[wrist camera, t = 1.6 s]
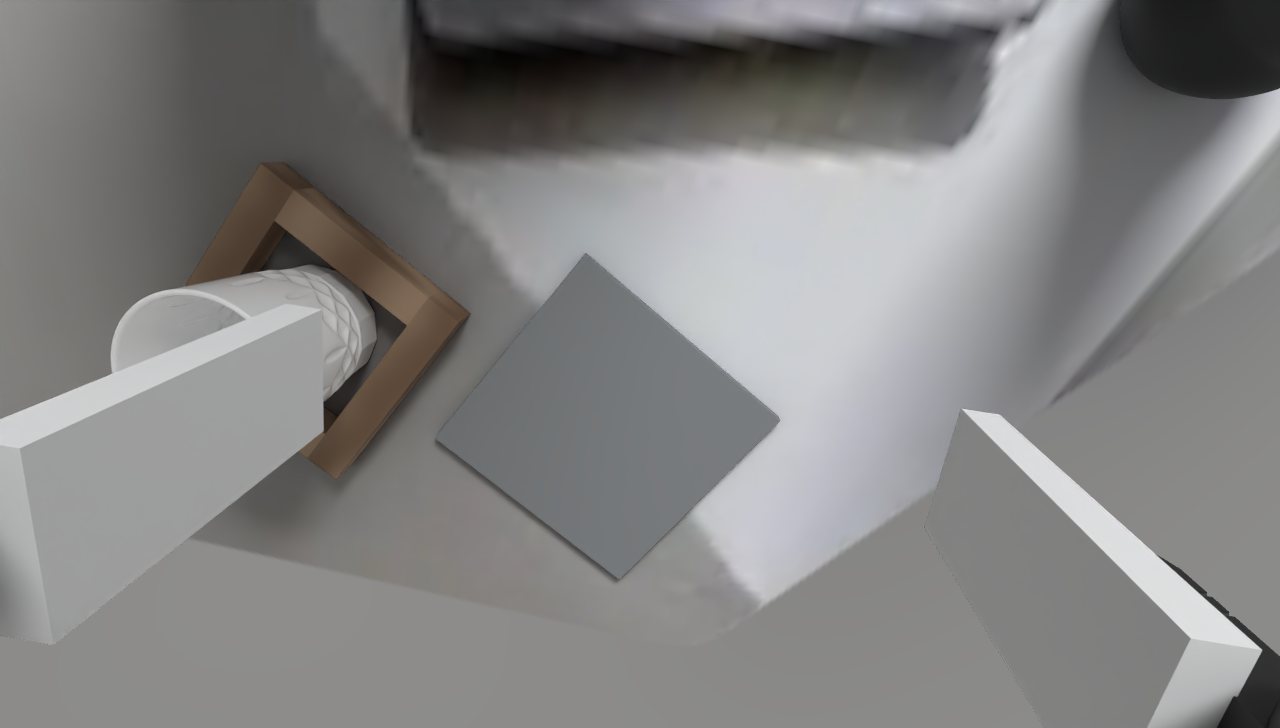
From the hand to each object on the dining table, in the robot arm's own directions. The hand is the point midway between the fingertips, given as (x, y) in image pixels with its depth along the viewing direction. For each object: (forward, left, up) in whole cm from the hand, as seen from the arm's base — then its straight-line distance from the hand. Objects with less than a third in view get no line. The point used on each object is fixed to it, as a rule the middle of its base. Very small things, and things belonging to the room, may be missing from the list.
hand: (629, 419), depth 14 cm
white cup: (-12, -16, -23) cm, 31 cm away
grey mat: (+4, -10, -23) cm, 25 cm away
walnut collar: (-12, -16, -23) cm, 31 cm away
